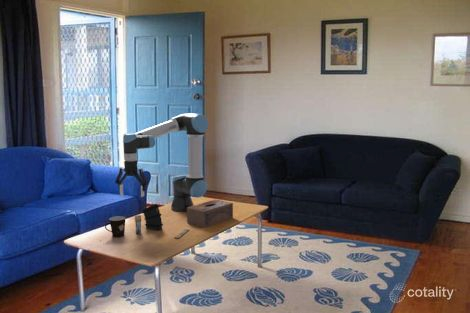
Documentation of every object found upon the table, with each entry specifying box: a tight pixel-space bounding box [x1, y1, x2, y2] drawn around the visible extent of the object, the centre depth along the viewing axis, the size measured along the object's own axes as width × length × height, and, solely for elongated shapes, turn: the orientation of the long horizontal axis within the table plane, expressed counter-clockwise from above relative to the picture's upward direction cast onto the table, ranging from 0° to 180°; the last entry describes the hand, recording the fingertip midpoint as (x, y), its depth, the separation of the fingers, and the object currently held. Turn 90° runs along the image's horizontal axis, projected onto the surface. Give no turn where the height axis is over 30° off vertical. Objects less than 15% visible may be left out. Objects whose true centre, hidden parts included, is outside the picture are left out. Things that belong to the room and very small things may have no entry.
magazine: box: [141, 203, 164, 232], centre depth 278 cm, size 4×13×15 cm, turn 53°
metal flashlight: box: [134, 214, 142, 235], centre depth 270 cm, size 3×3×10 cm
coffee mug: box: [104, 215, 126, 238], centre depth 266 cm, size 12×9×10 cm
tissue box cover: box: [186, 199, 234, 228], centre depth 294 cm, size 26×14×10 cm, turn 139°
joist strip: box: [174, 228, 190, 240], centre depth 268 cm, size 16×2×1 cm, turn 164°
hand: (132, 195), depth 280 cm, fingers open, 13 cm apart
